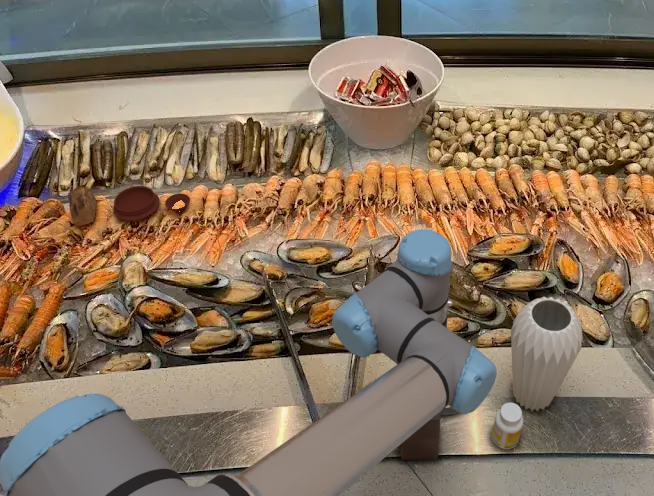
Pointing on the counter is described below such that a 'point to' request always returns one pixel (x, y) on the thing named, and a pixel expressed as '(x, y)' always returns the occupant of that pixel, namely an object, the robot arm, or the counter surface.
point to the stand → (423, 442)
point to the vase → (543, 350)
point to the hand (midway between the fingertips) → (420, 395)
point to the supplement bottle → (507, 426)
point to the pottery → (143, 203)
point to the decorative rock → (82, 206)
